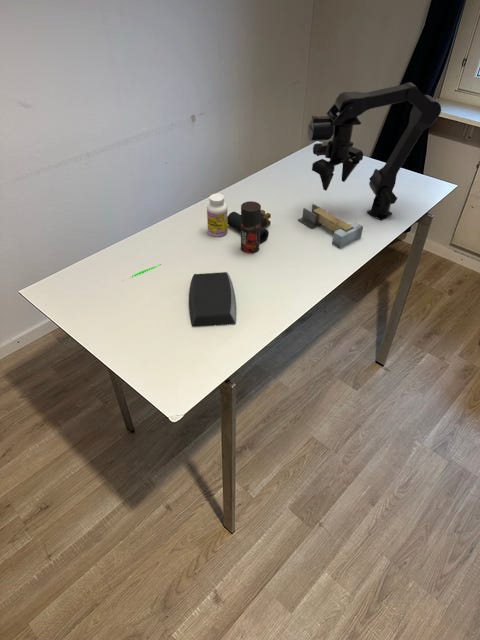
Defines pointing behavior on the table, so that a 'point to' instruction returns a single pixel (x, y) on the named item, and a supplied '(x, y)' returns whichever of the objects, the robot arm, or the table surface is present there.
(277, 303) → the table surface
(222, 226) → the supplement bottle
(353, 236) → the slate-blue socket
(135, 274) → the pen
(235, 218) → the pipe connector
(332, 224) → the tan square rod
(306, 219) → the grey sleeve
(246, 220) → the deodorant
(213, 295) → the external hard drive
